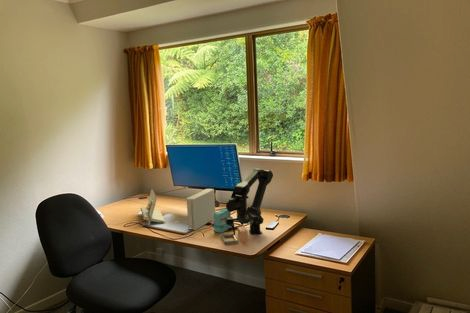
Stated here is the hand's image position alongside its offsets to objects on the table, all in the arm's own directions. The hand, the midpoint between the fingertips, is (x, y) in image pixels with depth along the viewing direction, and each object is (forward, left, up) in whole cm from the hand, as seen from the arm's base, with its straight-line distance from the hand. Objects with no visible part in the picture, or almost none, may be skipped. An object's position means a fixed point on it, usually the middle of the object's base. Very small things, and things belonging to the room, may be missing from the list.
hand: (242, 234), depth 209 cm
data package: (-18, -9, -3) cm, 20 cm away
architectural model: (-56, -51, -3) cm, 76 cm away
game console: (-35, -20, -3) cm, 40 cm away
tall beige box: (0, 0, -3) cm, 3 cm away
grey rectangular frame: (0, -8, -3) cm, 8 cm away
